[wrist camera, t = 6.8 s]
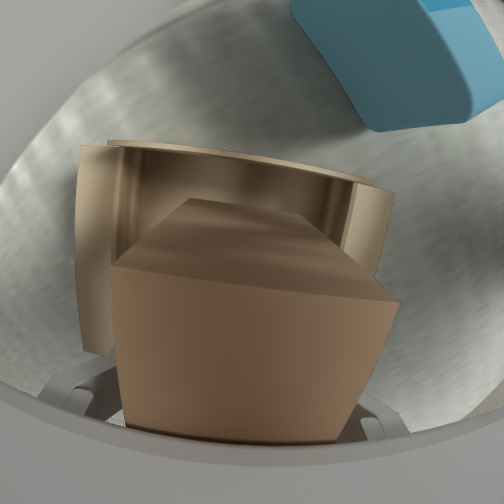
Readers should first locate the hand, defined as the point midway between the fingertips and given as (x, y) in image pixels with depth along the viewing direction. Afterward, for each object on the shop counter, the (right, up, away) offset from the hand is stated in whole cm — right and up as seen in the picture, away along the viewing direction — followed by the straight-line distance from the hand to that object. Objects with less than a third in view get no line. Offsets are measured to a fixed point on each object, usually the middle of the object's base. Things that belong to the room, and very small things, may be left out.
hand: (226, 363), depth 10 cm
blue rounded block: (+8, +19, +8) cm, 22 cm away
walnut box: (0, +1, +3) cm, 3 cm away
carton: (-1, +4, +12) cm, 13 cm away
